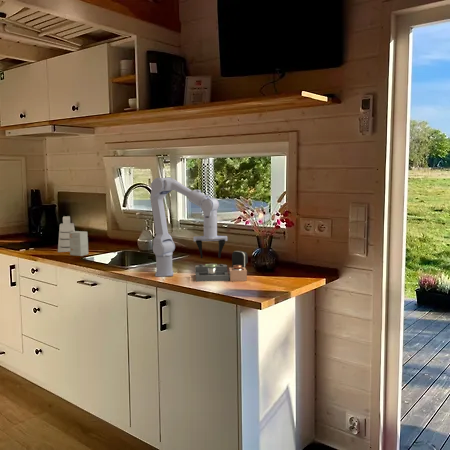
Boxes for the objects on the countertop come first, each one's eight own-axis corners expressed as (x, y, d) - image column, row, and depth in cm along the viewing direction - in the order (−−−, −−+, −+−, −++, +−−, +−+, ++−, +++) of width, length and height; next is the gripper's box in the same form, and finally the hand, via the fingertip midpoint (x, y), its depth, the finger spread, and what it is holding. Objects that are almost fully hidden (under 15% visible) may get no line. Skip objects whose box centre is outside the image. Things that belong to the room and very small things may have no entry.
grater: (57, 252, 285) (56, 217, 283) (59, 249, 296) (57, 216, 293) (76, 251, 288) (75, 217, 286) (77, 248, 298) (76, 215, 296)
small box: (88, 254, 278) (87, 231, 276) (80, 256, 272) (79, 232, 271) (77, 253, 281) (76, 230, 280) (69, 255, 276) (68, 232, 274)
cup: (228, 278, 215) (228, 267, 214) (244, 278, 216) (244, 267, 215) (230, 282, 208) (230, 271, 208) (246, 282, 209) (246, 270, 208)
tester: (195, 276, 221) (195, 263, 220) (226, 275, 222) (226, 263, 221) (196, 282, 208) (195, 269, 207) (229, 282, 209) (228, 269, 208)
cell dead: (233, 278, 213) (233, 264, 213) (241, 278, 214) (241, 264, 213) (233, 280, 210) (233, 266, 209) (242, 280, 210) (242, 266, 209)
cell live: (207, 277, 215) (207, 263, 214) (216, 277, 215) (215, 263, 214) (207, 279, 211) (207, 265, 210) (216, 279, 211) (216, 265, 211)
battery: (249, 276, 219) (249, 251, 218) (243, 278, 216) (243, 252, 215) (237, 274, 224) (237, 249, 222) (231, 275, 221) (231, 250, 220)
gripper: (193, 227, 206) (193, 259, 207) (228, 227, 207) (228, 259, 208) (193, 225, 213) (193, 256, 214) (226, 225, 214) (226, 256, 215)
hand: (210, 257), depth 212 cm, fingers open, 7 cm apart
